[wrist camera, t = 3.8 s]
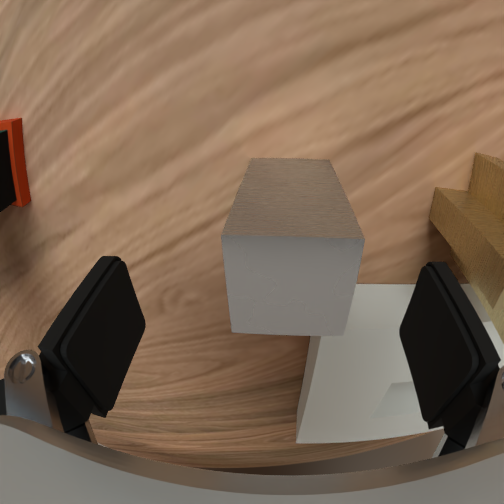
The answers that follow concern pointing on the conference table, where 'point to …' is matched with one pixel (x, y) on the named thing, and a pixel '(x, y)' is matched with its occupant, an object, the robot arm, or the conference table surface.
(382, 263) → the conference table surface
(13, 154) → the power tool
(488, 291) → the cross bar
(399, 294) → the socket block
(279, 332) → the square bar
